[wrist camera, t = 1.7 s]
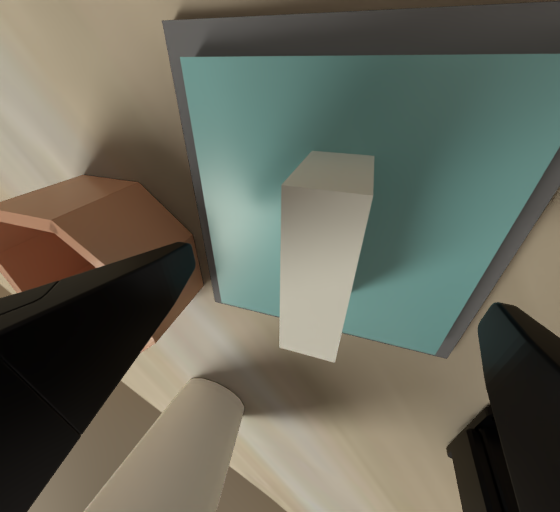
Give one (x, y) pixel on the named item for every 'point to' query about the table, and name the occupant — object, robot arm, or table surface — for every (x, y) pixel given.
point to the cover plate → (418, 181)
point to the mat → (378, 41)
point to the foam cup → (178, 456)
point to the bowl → (87, 234)
